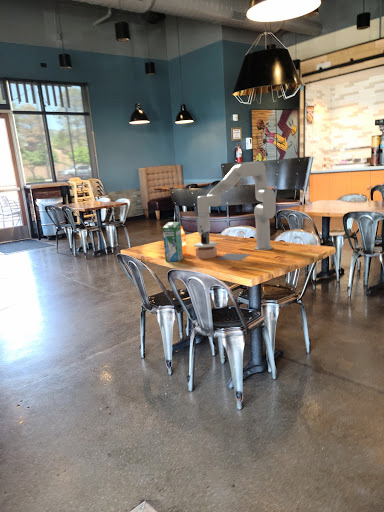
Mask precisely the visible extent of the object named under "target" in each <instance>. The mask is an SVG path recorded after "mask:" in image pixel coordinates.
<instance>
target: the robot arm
mask: <svg viewBox="0 0 384 512" xmlns="http://www.w3.org/2000/svg"><path fill="white" fill-rule="evenodd" d="M266 169H267V167H266V165H265V164H264V162H260V161H259V162H258V161H257V162H249V163H238V164H235V165H234V166H233V167H232V168H231V169H230V170H229V171H228V173H227V174H226V175H225V176H224V177H223V179H222V180H221V181H218V183H217V184H215V186H214V187H213V188H212V189H210V191H209V192H208V193H207V194H206V195H198V196H197V197H196V201H197V205H196V206H197V216H198V217H197V233H198V235H200V240H201V241H200V242H201V243H206V237H205V233H209V234H210V231H211V219H210V217H211V216H210V207H219V206H220V205H221V203H222V197H221V196H222V195H223V194H224V193H226V192H228V191H230V190H232V189H233V188H234V186H235V185H236V184H237V183H238V182H239V180H240V179H241V178H246V177H247V178H248V177H252V179H253V180H254V185H255V187H254V189H255V190H254V191H255V192H254V193H255V196H254V197H255V199H256V201H258V202H259V204H257V205H256V206H255V207H254V209H253V212H254V219H255V236H256V237H255V238H256V239H255V240H256V246H254V250H256V251H270V250H272V249H273V245H271V229H270V228H271V227H270V226H271V224H270V223H271V222H270V219H272V218H274V216H275V215H276V212H277V204H276V203H277V201H276V193H275V190H273V189H272V188H270V187H269V186H268V185H269V184H268V178H267V174H266V173H265V172H266ZM260 202H261V203H260ZM203 233H204V234H203Z"/></svg>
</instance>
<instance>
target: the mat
mask: <svg viewBox="0 0 384 512" xmlns="http://www.w3.org/2000/svg"><path fill="white" fill-rule="evenodd" d="M249 256H252V255H251V254H249V253H245V254H244V253H229V252H228V253H227V252H226V253H225V254H223V255H221V256H219V257H218V258H217V260H223V261H224V260H225V261H240V262H241V261H243V260H244V259H246V258H248V257H249Z"/></svg>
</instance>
